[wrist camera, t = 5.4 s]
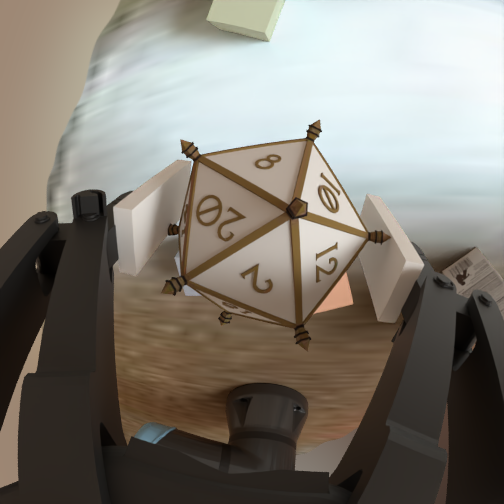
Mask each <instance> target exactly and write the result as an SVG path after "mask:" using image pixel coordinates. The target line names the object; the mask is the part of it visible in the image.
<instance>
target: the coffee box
mask: <svg viewBox="0 0 504 504" xmlns="http://www.w3.org/2000/svg"><path fill="white" fill-rule="evenodd" d="M442 274H443V275H445V276H446V277H448V278H449V279H450V280H451V281H453V283H454V284H455V286H456V289H457V294H459V295H461V296H464V297H466V298H468V299H469V297H470V295H471V294H472V292H473V291H474V290H476V289H478V290H482V291H484V292H487V293H488V294H490V295H491V296H492V298H493V299H494V300H495V302H496V303H497V305H498V307H499V310H500V312H501V314H502V317H503V319H504V280H503V279H502V277H501V276H500V275H499V273H498V272H497V271H496V269H495V268H494V267H493V266H492V264H491V263H490V262H489V261H488V259H487V258H486V257H485V256H484V255H483V253H482V252H481V251H480V250H479V249H478V248H477V247H476V248H475V249H473V250H472V251H470V252H469V253H468V254H466V255H465V256H464V257H462V258H461V259H459V260H458V261H456V262H455V263H454V264H452V265H451V266H449V267H448V268H446V269H445V270H443V271H442ZM475 344H476V342H475Z"/></svg>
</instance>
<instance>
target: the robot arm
mask: <svg viewBox="0 0 504 504" xmlns="http://www.w3.org/2000/svg"><path fill="white" fill-rule="evenodd" d="M190 169H191V161H184V160H176V161H175V162H173V163H172V164H171V165H169V166H168V167H166V168H165V169H163V170H162V171H161V172H159V173H158V174H156V175H155V176H154V177H152V178H151V179H149V180H148V181H147V182H145V183H144V184H143V185H141V186H140V187H139V188H137V189H136V190H135V191H129V192H127V193H124V194H122V195H120V196H119V197H118V198H116V200H114V201H112V202H111V203H110V204H108V205H107V206H106V194H105V192H103V191H102V190H85V191H81V192H78V193H76V194H74V195H73V196H72V197H71V200H72V209H73V217H74V219H73V222H72V223H59V224H58V218H57V214H56V213H54V212H50V211H47V212H46V211H42V212H38V213H37V214H35V215H33V216H32V217H30V218H29V219H28V220H27V221H26V222H25V223H24V224H23V225H22V226H21V227H20V228H19V229H18V230H17V231H16V232H15V233H14V235H12V237H11V238H10V239H9V240H8V241H7V242H6V243H5V244H4V245H3V246H2V248H1V249H0V431H1V428H2V425H3V422H4V419H5V416H6V412H7V409H8V406H9V403H10V401H11V398H12V395H13V392H14V389H15V387H16V383H17V381H18V379H19V376H20V374H21V371H22V369H23V366H24V364H25V361H26V359H27V356H28V354H29V352H30V350H31V347H32V345H33V343H34V341H35V339H36V336H37V334H38V332H39V330H40V328H41V326H42V324H43V322H44V320H45V324H44V329H43V334H42V340H41V346H40V352H39V360H38V367H37V371H36V373H28V374H27V375H26V376H25V377H24V380H23V384H22V391H21V400H20V412H19V429H18V478H19V481H17V482H14V483H12V484H9V485H7V486H4V487H2V488H0V504H434V503H435V499H436V497H437V494H438V491H439V487H440V484H441V481H442V477H443V474H444V470H445V466H446V462H447V452H446V450H445V449H442V448H440V447H438V441H439V436H440V432H441V428H442V423H443V419H444V414H445V408H446V403H447V404H448V426H449V463H448V484H447V496H446V504H504V319H503V317H502V314H501V312H500V310H499V307H498V305H497V303H496V302H495V300H494V299H493V298H492V296H491V295H490V294H488V293H487V292H484V291H482V290H478V289H476V290H474V291H473V292H472V294H471V295H470V297H469V299H468V298H466V297H464V296H461V295H459V294H457V289H456V286H455V284H454V283H453V281H451V280H450V279H449V278H448V277H446V276H445V275H443V274H441V273H438V272H435V271H434V270H433V268H432V266H431V265H430V263H429V262H428V261H427V258H426V257H425V256H424V254H423V252H422V251H421V249H420V248H419V247H418V246H417V245H416V244H415V243H413V242H411V241H410V240H409V239H408V237H407V236H406V234H405V233H404V231H403V230H402V228H401V227H400V225H399V224H398V222H397V221H396V219H395V218H394V216H393V215H392V213H391V212H390V210H389V209H388V208H387V206H386V205H385V203H384V202H383V201H382V199H381V198H380V197H378V196H374V195H370V194H367V195H366V199H365V202H364V205H363V209H362V212H361V215H360V218H361V219H362V221H363V223H364V225H365V227H366V228H367V230H368V232H374V231H375V230H377V231H381V230H382V231H383V232H384V233H386V234H387V235H389V236H390V237H391V238H390V239H388V240H387V241H385V242H383V243H382V245H381V244H380V243H376V244H375V243H374V242H372V241H368V242H367V243H366V245H365V246H364V248H363V249H362V250H361V252H360V253H359V255H358V256H359V259H360V262H361V265H362V268H363V271H364V275H365V278H366V281H367V284H368V288H369V291H370V295H371V298H372V302H373V305H374V309H375V312H376V316H377V320H378V321H381V322H389V323H395V322H396V320H397V318H398V317H399V315H400V313H401V312H402V314H403V317H404V320H403V322H402V324H401V325H400V327H399V329H398V331H397V332H396V334H395V336H394V337H393V339H392V341H391V342H393V343H394V344H393V347H392V350H391V353H390V355H389V358H388V361H387V363H386V366H385V369H384V371H383V374H382V376H381V378H380V381H379V383H378V386H377V388H376V390H375V393H374V395H373V397H372V400H371V402H370V404H369V406H368V408H367V411H366V413H365V415H364V417H363V419H362V421H361V423H360V425H359V427H358V429H357V432H356V433H355V436H354V437H353V439H352V441H351V443H350V445H349V447H348V449H347V451H346V452H345V454H344V456H343V458H342V460H341V461H340V463H339V465H338V467H337V468H336V470H335V471H334V472H333V474H332V475H331V476H330V477H329V472H310V471H295V458H296V444H297V440H298V438H299V435H300V433H301V431H302V428H303V426H304V424H305V421H306V419H307V415H308V402H307V400H306V398H305V397H304V396H303V395H302V394H300V393H299V392H297V391H295V390H293V389H291V388H288V387H284V386H280V385H275V384H249V385H244V386H241V387H238V388H236V389H234V390H233V391H232V392H231V393H230V394H229V395H228V399H227V403H226V415H227V421H228V427H229V433H230V436H229V442H228V444H226V443H222V442H218V441H214V440H211V439H207V438H204V437H200V436H197V435H194V434H190V433H187V432H184V431H181V430H178V429H177V428H175V427H169V426H165V425H162V424H159V423H155V422H150V423H147V424H145V425H143V426H142V427H141V428H140V429H139V431H138V432H137V433H136V435H135V436H134V437H132V436H131V439H130V441H129V444H128V446H127V443H126V440H125V437H124V433H123V429H122V424H121V417H120V408H119V400H118V390H117V379H116V365H115V348H114V309H113V301H114V272H113V265H114V264H115V262H116V261H117V260H118V264H119V272H121V273H125V274H129V275H134V276H137V275H138V274H139V272H140V271H141V269H142V268H143V267H144V265H145V264H146V263H147V261H148V260H149V259H150V257H151V256H152V255H153V253H154V252H155V251H156V249H157V248H158V247H159V245H160V244H161V243H162V241H163V240H164V239H165V237H166V236H167V235H168V227H169V225H170V223H171V224H172V225H174V224H176V223H177V222H178V221H179V219H180V218H181V214H182V209H183V205H184V200H185V196H186V192H187V188H188V184H189V179H190ZM36 264H37V269H36V266H35V265H36ZM45 318H46V319H45ZM394 341H395V342H394ZM475 342H476V345H475V348H474V349H473V351H472V346H473V345H474V344H475Z"/></svg>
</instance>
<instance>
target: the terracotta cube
mask: <svg viewBox="0 0 504 504" xmlns="http://www.w3.org/2000/svg"><path fill="white" fill-rule="evenodd" d="M351 304H353V300H352V295H351V290H350V285H349V281H348V276H347V272H345V274H344V275H343V276H342V278H341V279H340V280H339V282H338V283H337V284H336V286H335V287H334V288H333V289H332V291H331V292H330V293H329V295H328V296H327V297H326V299H325V300H324V301H323V302H322V304H321V305H320V306H319V307H318V309H317V310H316V311H315V312H314V314H315V313H319V312H323V311H327V310H331V309H335V308H339V307H343V306H347V305H351Z"/></svg>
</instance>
